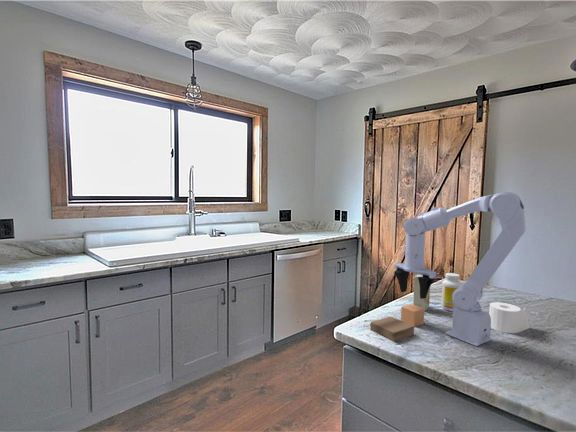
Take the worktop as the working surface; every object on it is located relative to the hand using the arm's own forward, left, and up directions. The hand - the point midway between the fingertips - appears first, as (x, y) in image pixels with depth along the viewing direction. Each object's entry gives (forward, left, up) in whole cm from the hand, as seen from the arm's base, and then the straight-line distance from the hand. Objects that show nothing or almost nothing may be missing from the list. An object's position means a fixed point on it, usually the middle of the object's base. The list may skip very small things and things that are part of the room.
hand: (413, 294), depth 106 cm
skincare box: (+7, -14, -9) cm, 18 cm away
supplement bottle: (+1, -23, -9) cm, 25 cm away
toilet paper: (-19, -23, -10) cm, 31 cm away
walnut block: (-2, +12, -10) cm, 16 cm away
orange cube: (0, 0, -9) cm, 9 cm away
